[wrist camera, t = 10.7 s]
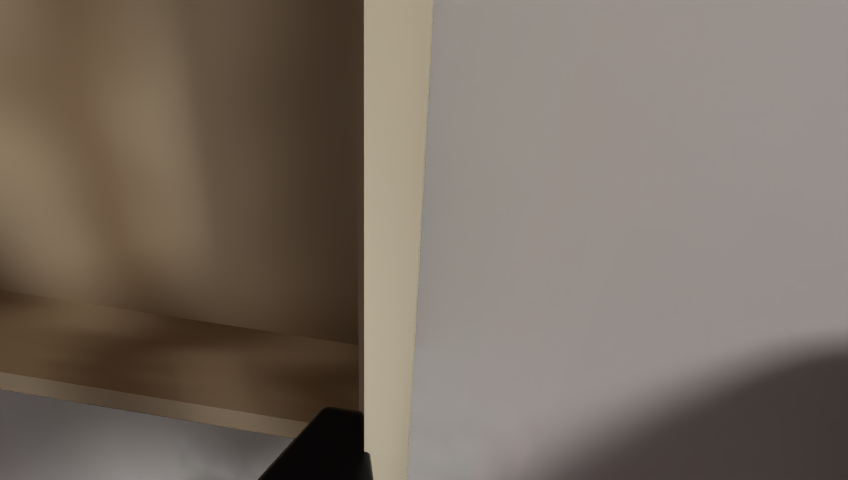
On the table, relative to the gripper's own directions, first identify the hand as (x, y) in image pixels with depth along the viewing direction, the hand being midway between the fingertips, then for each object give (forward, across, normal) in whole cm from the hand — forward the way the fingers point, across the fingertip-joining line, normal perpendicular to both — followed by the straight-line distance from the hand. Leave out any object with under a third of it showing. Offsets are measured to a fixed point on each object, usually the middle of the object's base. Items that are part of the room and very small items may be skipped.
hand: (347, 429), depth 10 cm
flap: (+3, 0, 0) cm, 3 cm away
